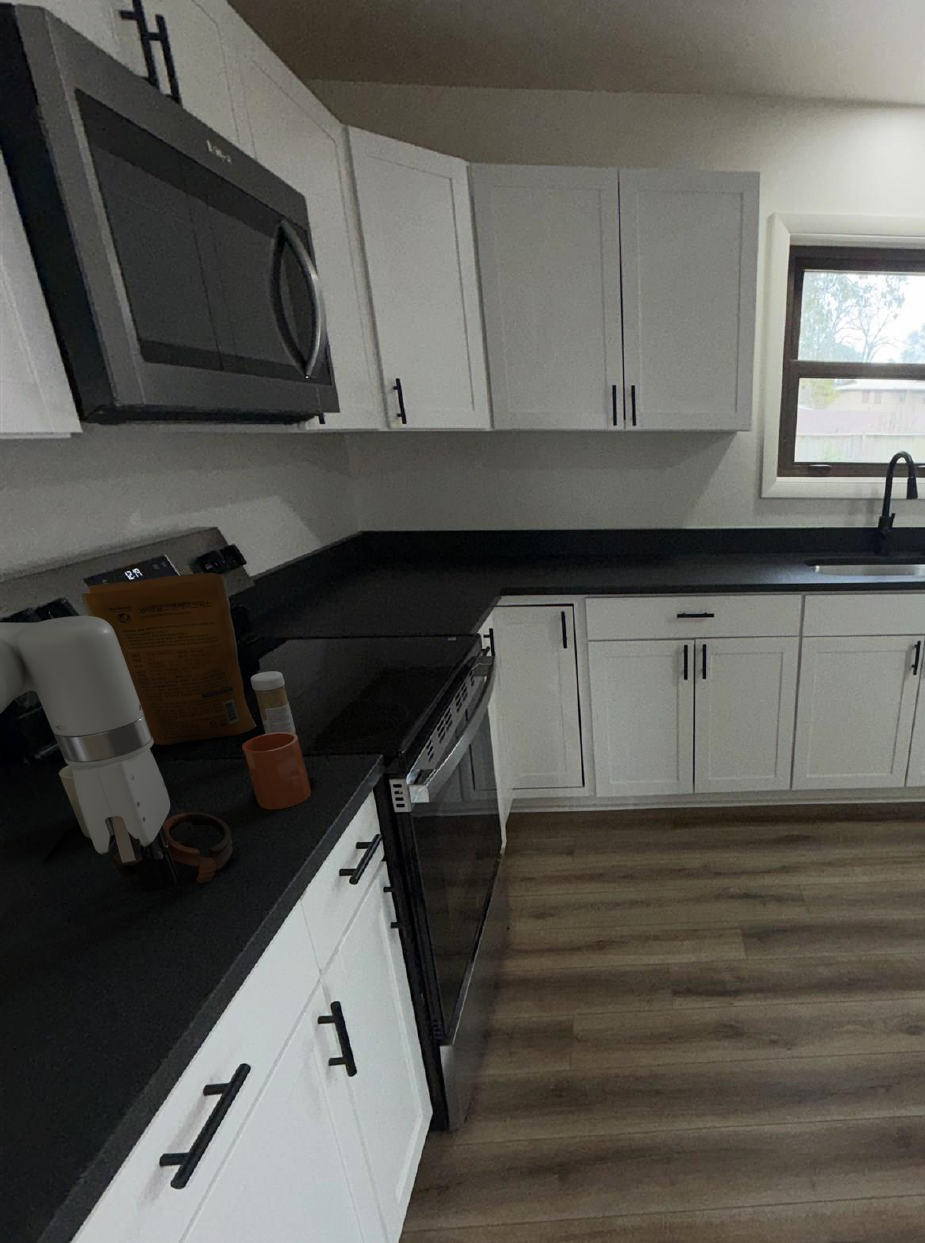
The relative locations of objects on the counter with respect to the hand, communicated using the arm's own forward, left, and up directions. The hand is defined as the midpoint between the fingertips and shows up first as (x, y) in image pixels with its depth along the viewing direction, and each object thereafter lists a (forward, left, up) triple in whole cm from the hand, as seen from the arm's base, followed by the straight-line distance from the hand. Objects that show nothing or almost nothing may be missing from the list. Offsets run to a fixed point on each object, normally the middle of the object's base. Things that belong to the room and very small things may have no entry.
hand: (162, 885), depth 83 cm
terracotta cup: (+10, +23, -3) cm, 25 cm away
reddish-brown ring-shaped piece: (0, +6, -3) cm, 7 cm away
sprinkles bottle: (+8, +41, -3) cm, 42 cm away
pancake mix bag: (-6, +53, -3) cm, 54 cm away
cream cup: (-11, +23, -3) cm, 26 cm away
